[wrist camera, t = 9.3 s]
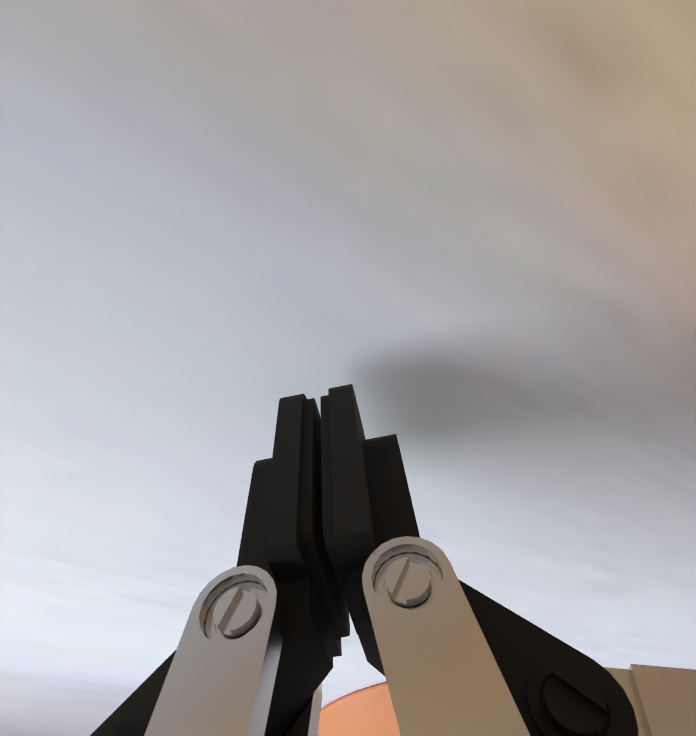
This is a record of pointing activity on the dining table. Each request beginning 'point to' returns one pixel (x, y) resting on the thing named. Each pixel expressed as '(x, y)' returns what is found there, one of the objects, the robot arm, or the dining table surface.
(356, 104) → the dining table surface
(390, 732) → the orange disc
